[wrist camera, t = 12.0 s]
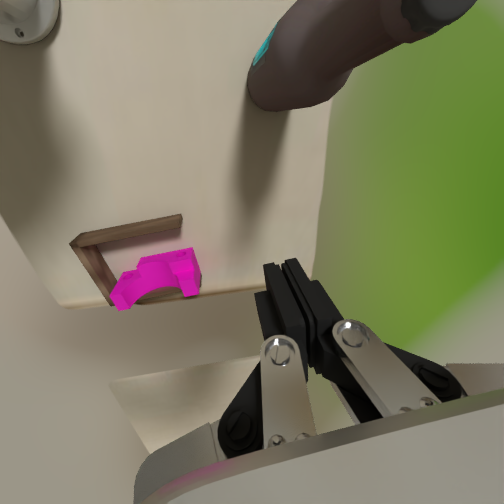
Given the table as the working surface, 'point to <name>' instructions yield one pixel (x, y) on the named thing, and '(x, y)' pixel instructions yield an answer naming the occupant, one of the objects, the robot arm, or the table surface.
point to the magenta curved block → (158, 277)
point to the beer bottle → (337, 45)
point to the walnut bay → (91, 254)
